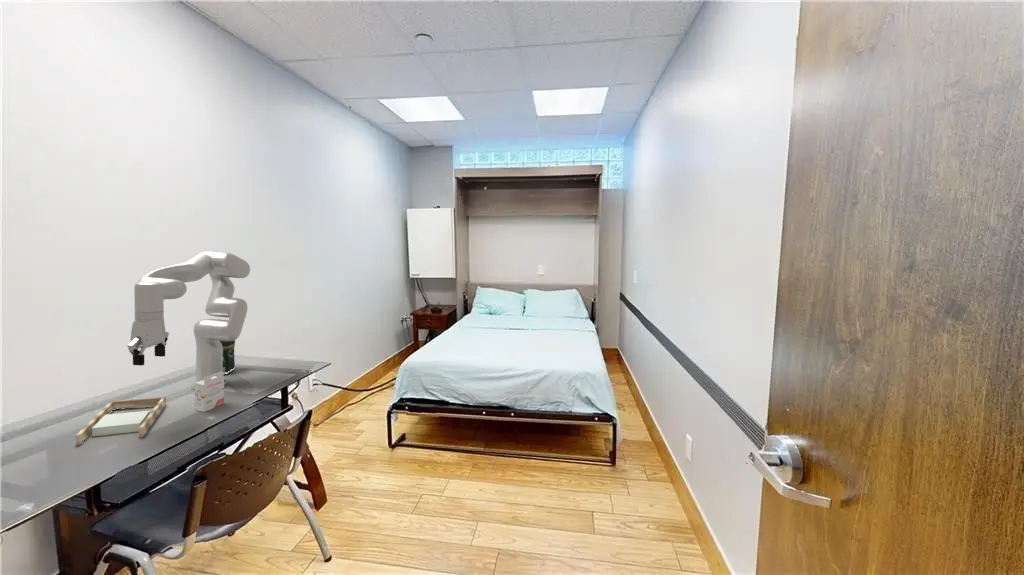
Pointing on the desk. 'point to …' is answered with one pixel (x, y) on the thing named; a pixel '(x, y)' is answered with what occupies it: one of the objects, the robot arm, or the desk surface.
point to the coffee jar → (228, 355)
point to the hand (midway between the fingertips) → (149, 360)
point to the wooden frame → (134, 403)
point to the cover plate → (120, 423)
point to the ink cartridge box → (209, 392)
